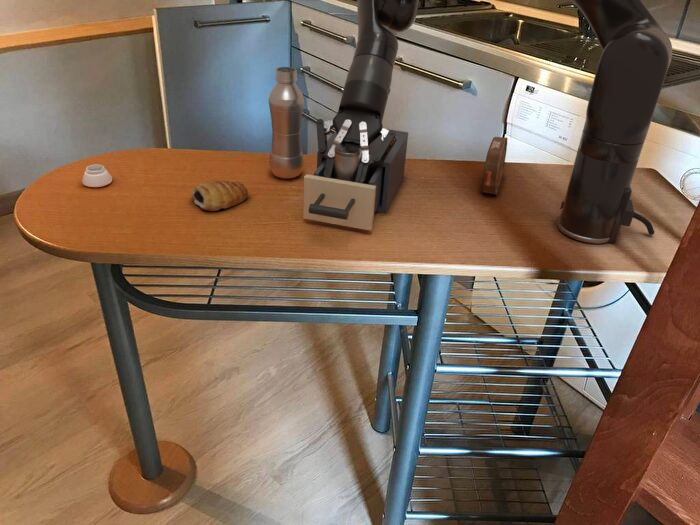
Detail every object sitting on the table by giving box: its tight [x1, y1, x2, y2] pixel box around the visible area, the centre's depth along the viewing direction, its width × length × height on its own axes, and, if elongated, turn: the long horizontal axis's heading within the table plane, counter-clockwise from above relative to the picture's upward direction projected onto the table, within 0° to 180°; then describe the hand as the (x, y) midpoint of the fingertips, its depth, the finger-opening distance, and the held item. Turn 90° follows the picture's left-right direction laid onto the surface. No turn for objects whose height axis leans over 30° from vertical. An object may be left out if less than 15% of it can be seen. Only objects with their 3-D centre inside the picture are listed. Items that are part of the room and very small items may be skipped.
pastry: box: [191, 179, 249, 212], centre depth 107 cm, size 9×7×4 cm
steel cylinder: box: [334, 143, 361, 182], centre depth 101 cm, size 4×4×10 cm
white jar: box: [81, 163, 113, 188], centre depth 110 cm, size 5×3×5 cm
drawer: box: [302, 159, 385, 231], centre depth 103 cm, size 20×12×8 cm, turn 165°
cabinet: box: [316, 128, 409, 214], centre depth 113 cm, size 16×13×9 cm
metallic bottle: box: [268, 66, 305, 179], centre depth 113 cm, size 6×7×20 cm
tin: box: [481, 136, 508, 196], centre depth 118 cm, size 15×3×8 cm, turn 161°
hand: (343, 184), depth 100 cm, fingers closed on steel cylinder, 4 cm apart
